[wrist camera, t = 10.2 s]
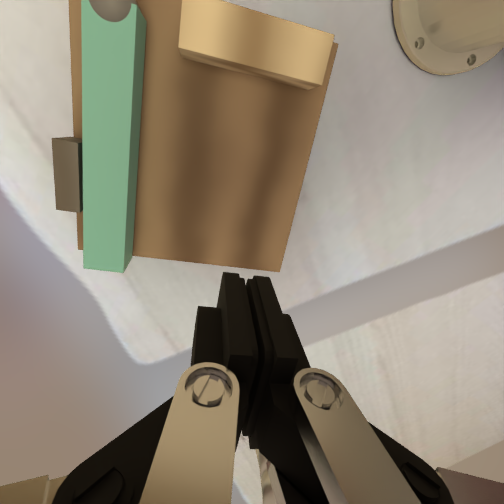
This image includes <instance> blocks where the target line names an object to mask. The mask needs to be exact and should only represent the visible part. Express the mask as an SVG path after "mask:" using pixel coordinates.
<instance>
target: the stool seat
mask: <svg viewBox="0 0 504 504" xmlns="http://www.w3.org/2000/svg"><path fill="white" fill-rule="evenodd" d="M136 2H137V4H138V6H139V8H140V10H141V13H142V15H143V17H144V18H145V20H146V22H147V23H146V39H145V56H144V72H143V88H142V105H141V121H140V137H139V154H138V170H137V186H136V203H135V219H134V235H133V252H132V256H141V257H150V258H158V259H167V260H176V261H185V262H194V263H203V264H212V265H221V266H230V267H239V268H247V269H256V270H265V271H274V272H280V268H281V265H282V261H283V257H284V253H285V249H286V245H287V241H288V237H289V234H290V230H291V226H292V222H293V218H294V214H295V210H296V207H297V203H298V199H299V195H300V191H301V187H302V183H303V179H304V176H305V172H306V168H307V164H308V160H309V156H310V152H311V148H312V145H313V141H314V137H315V133H316V129H317V125H318V121H319V117H320V114H321V110H322V106H323V102H324V98H325V94H326V90H327V86H328V83H329V79H330V75H331V71H332V67H333V63H334V59H335V55H336V52H337V48H338V44H337V43H334V42H333V39H334V35H333V34H330V33H326V32H323V31H320V30H317V29H313V28H310V27H307V26H304V25H300V24H297V23H294V22H290V21H287V20H284V19H281V18H277V17H274V16H271V15H268V14H264V13H261V12H258V11H254V10H251V9H248V8H245V7H241V6H238V5H235V4H232V3H228V2H225V1H222V0H136ZM69 22H70V49H71V76H72V102H73V129H74V137H62V138H52V150H53V166H54V181H55V197H56V210H63V211H70V212H77V236H78V250H83V146H82V28H81V0H69Z"/></svg>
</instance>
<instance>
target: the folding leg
mask: <svg viewBox="0 0 504 504" xmlns="http://www.w3.org/2000/svg"><path fill="white" fill-rule="evenodd" d="M146 23H147V22H146V20H145V18H144V17H143V15H142V13H141V10H140V8H139V6H138V4H137V2H136V0H81V28H82V146H83V264H84V268H85V269H94V270H102V271H111V272H120V273H124V271H125V269H126V268H127V266H128V264H129V262H130V261H131V259H132V252H133V235H134V219H135V203H136V186H137V170H138V154H139V137H140V121H141V105H142V88H143V72H144V56H145V39H146Z"/></svg>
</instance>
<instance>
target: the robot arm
mask: <svg viewBox="0 0 504 504" xmlns="http://www.w3.org/2000/svg"><path fill="white" fill-rule="evenodd" d="M393 15H394V24H395V28H396V32H397V36H398V39H399V41H400V43H401V46H402V48H403V50H404V52H405V53H406V54H407V56H408V57H409V58H410V60H411V61H412V62H413V63H415V64H416V65H417V66H418V67H419V68H421V69H423V70H425V71H427V72H429V73H431V74H438V75H452V74H458V73H462V72H466V71H469V70H472V69H474V68H476V67H479V66H481V65H482V64H484V63H485V62H487V61H488V60H490V59H491V58H493V57H494V56H495V55H496V54H497V53H498V52H499V51H500V50H501V49H502V48H504V0H393ZM241 430H242V434H243V436H248V437H249V446H250V449H259V452H260V453H261V454H262V455H263V456H264V457H265V458H266V459H267V462H266V465H267V472H268V475H269V479H270V482H271V486H272V489H273V493H274V496H275V500H276V503H277V504H504V483H500V482H496V481H492V480H488V479H484V478H480V477H476V476H472V475H468V474H464V473H460V472H456V471H452V470H448V469H444V468H440V467H437V468H436V470H434V469H433V468H432V467H431V466H429V465H428V464H427V463H426V462H425V461H423V460H422V459H421V458H419V457H418V456H416V455H415V454H414V453H412V452H411V451H409V450H408V449H406V448H405V447H404V446H402V445H401V444H399V443H398V442H396V441H395V440H394V439H392V438H391V437H389V436H388V435H386V434H385V433H383V432H382V431H381V430H379V429H378V428H376V427H375V426H373V425H372V424H371V423H369V422H368V421H367V420H366V418H365V417H364V415H363V414H362V412H361V411H360V409H359V408H358V406H357V405H356V403H355V402H354V400H353V399H352V397H351V395H350V394H349V392H348V391H347V389H346V388H345V387H344V385H343V384H342V383H341V382H340V381H339V380H338V379H337V378H336V377H335V376H333V375H332V374H330V373H328V372H326V371H324V370H321V369H317V368H311V367H310V365H309V362H308V360H307V357H306V354H305V352H304V349H303V347H302V345H301V342H300V339H299V337H298V334H297V332H296V329H295V327H294V324H293V322H292V319H291V317H290V315H288V314H283V313H282V310H281V308H280V305H279V302H278V299H277V297H276V294H275V291H274V288H273V286H272V283H271V280H270V278H269V277H263V276H253V279H248V280H247V283H246V285H245V280H244V278H240V277H239V274H237V273H228V272H223V275H222V280H221V286H220V291H219V297H218V303H217V308H214V307H203V306H198V310H197V316H196V323H195V330H194V338H193V347H192V358H191V367H189V368H188V369H187V370H186V371H185V372H184V373H183V374H182V376H181V377H180V379H179V382H178V385H177V388H176V391H175V394H174V396H173V397H171V398H170V399H169V400H167V401H166V402H165V403H163V404H162V405H161V406H159V407H158V408H156V409H155V410H154V411H152V412H151V413H150V414H148V415H147V416H146V417H144V418H143V419H141V420H140V421H139V422H137V423H136V424H134V425H133V426H132V427H130V428H129V429H128V430H126V431H125V432H124V433H122V434H121V435H119V436H118V437H117V438H115V439H114V440H113V441H111V442H110V443H108V444H107V445H106V446H104V447H103V448H102V449H100V450H99V451H97V452H96V453H95V454H93V455H92V456H91V457H89V458H88V459H87V460H85V461H84V462H82V463H81V464H80V465H79V466H77V467H76V468H75V469H74V470H73V471H72V472H71V473H70V474H69V475H67V476H63V477H59V478H55V479H51V480H49V475H45V476H40V477H36V478H32V479H28V480H24V481H20V482H16V483H12V484H7V485H3V486H0V504H231V495H232V483H233V470H234V457H235V452H236V448H237V445H238V441H239V437H240V434H241Z"/></svg>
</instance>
